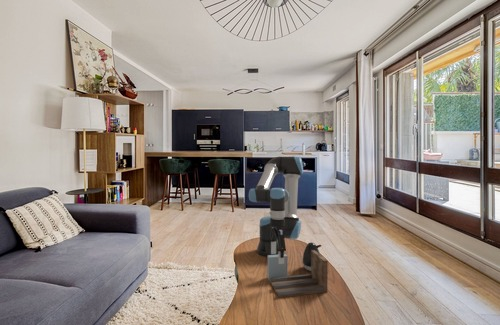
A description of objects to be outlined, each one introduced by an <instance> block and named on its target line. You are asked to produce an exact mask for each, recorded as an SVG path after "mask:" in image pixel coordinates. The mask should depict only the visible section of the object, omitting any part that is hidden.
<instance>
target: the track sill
mask: <svg viewBox="0 0 500 325" xmlns="http://www.w3.org/2000/svg"><path fill="white" fill-rule="evenodd" d="M319 253H320V252H319ZM319 253H318V252H317V251H315V250H311V271H310V273H309V274H308V273H306V274H299V275H287V277H277V278H270V280H269V283H270V285H271V287H272V288H273V290H274V292H275V294H276V295H277V297H278V298H288V297H295V296H304V295H313V294H320V293H321V294H322V293H328V275H329V274H328V270H329V269H328V266H329V264H328V262H329V261H328V259H326V258H325V257H324V256H323V255H321V254H319Z"/></svg>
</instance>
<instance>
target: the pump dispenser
mask: <svg viewBox="0 0 500 325" xmlns="http://www.w3.org/2000/svg"><path fill="white" fill-rule="evenodd" d="M321 247H322V244H316V243H314V242H308V243H307V244H306V245H305V247H304V250H303V254H302V260H301V262H302V264H303V267H304V269H305V270H306V271H309V272H311V250H315V251H317V252H318V253H319V254H320V251H319V248H321ZM320 255H321V254H320Z"/></svg>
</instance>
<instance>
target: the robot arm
mask: <svg viewBox="0 0 500 325" xmlns="http://www.w3.org/2000/svg"><path fill="white" fill-rule="evenodd" d="M278 174H282V176H283V177H284V180H285V181H284V188H283V187H272V188H271V185H272V184H273V181H274V179H275V176H277V175H278ZM303 174H304V164H303V160H302V158H301V157H300V156H294V155H293V156H276V157H274V158H271V159H270V160H269V161H268V162H267V163H266V164H265V165H264V168H263V172H262V175H261V177H260V179H259V181H258V183H257V184H256V187H255V188H250V189H249V191H248V200H249V201H250V202H252V203H267V204H269V208H270V210H269V215H267V216H263V217H261V218H260V219H259V241H258V245H257V248H256V253H257V254H258V255H260V256H264V257H267V255H278V254H279V264H284V254H285V252H286V251H287V246H286V241H285V239H287V240H297V239H298V238H299V236H300V233H301V228H302V221H301V220H299V219H300V217H299V216H298V215H297V213H298V193H299V192H298V189H299V179H300V178H301V175H303Z"/></svg>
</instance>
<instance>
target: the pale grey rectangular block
mask: <svg viewBox="0 0 500 325" xmlns="http://www.w3.org/2000/svg"><path fill="white" fill-rule="evenodd" d="M266 257H267V268H266V269H267V271H266V272H267V279H268V281H270V278H277V277H287V276H288V255H287V254H286V253H284V264H279V254H278V255H267V256H266Z"/></svg>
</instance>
